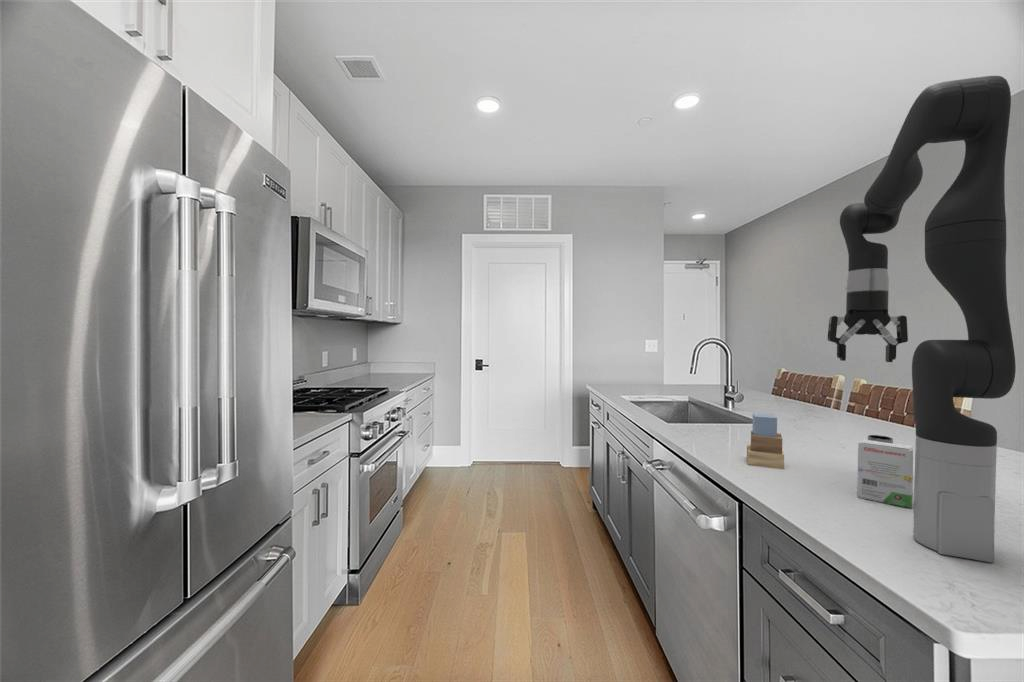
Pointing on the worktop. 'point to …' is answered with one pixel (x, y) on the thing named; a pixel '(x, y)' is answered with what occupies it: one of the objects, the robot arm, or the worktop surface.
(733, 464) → the worktop surface
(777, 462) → the oak block
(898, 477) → the ink box
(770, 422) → the blue cube
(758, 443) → the walnut block
